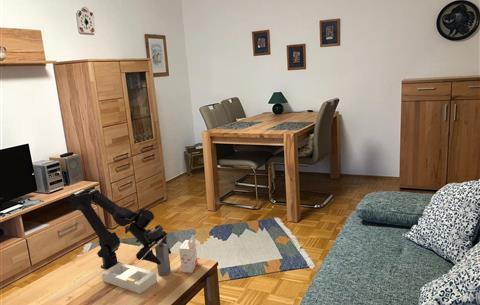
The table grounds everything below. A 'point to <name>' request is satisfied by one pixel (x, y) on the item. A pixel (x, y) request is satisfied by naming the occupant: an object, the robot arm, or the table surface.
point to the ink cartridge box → (188, 255)
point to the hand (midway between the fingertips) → (165, 258)
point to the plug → (163, 258)
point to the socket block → (129, 277)
